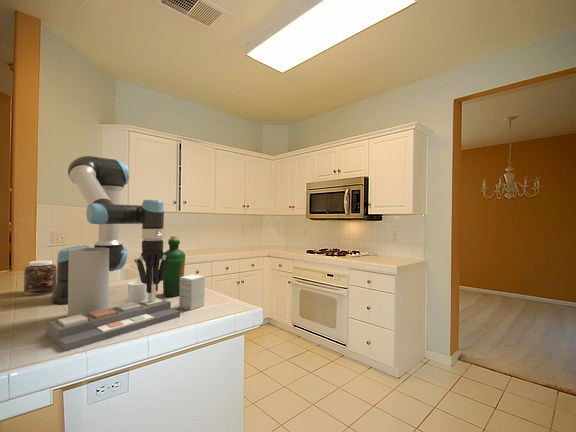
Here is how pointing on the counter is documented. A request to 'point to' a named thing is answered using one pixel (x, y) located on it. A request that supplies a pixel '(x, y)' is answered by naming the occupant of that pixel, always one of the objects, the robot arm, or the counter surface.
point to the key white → (72, 320)
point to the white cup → (137, 291)
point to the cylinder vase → (88, 280)
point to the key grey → (128, 307)
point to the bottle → (173, 268)
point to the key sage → (149, 303)
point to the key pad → (109, 325)
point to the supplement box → (191, 291)
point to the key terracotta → (102, 313)
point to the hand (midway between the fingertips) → (152, 300)
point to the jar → (40, 278)
